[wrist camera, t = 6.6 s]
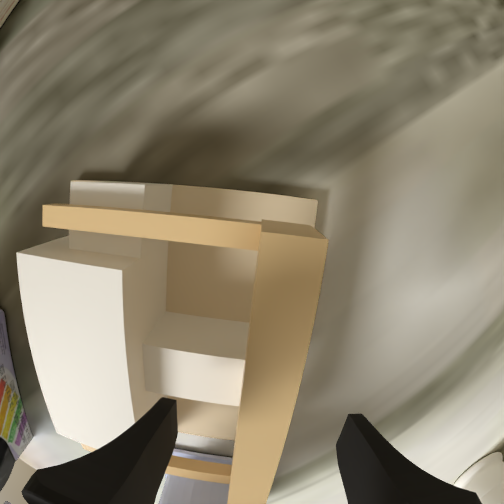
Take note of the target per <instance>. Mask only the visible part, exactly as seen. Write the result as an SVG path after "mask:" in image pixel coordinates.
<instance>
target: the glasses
mask: <svg viewBox="0 0 504 504" xmlns="http://www.w3.org/2000/svg"><path fill="white" fill-rule="evenodd" d="M43 227H52V228H61V229H70V230H79V231H88V232H96V233H105V234H114V235H123V236H132V237H141V238H149V239H158V240H167V241H176V242H185V243H193V244H202V245H211V246H220V247H228V248H237V249H246V250H254V251H258V254H257V263H256V271H255V280H254V288H253V297H252V305H251V313H250V322H249V330H248V338H247V346H246V354H245V363H244V371H243V379H242V387H241V395H240V403H239V411H238V419H237V427H236V435H235V443H234V450H233V458H232V465H229V464H221V463H214V462H207V461H201V460H195V459H189V458H184V457H179V456H174V455H172V456H171V459H170V461H169V464H168V466H167V469H166V471H165V473H166V474H170V475H175V476H180V477H185V478H190V479H196V480H202V481H209V482H216V483H223V484H229V491H228V500H227V504H266V501H267V498H268V496H269V492H270V489H271V486H272V483H273V480H274V477H275V474H276V471H277V467H278V464H279V461H280V458H281V454H282V451H283V447H284V444H285V440H286V437H287V433H288V430H289V426H290V422H291V419H292V415H293V411H294V407H295V403H296V400H297V396H298V392H299V388H300V383H301V379H302V375H303V371H304V367H305V362H306V358H307V353H308V349H309V344H310V340H311V335H312V330H313V325H314V320H315V315H316V310H317V305H318V300H319V294H320V289H321V284H322V278H323V272H324V266H325V260H326V254H327V248H328V241H329V240H328V239H327V238H326V237H325V236H323V235H322V234H321V233H320V232H318V231H317V230H316V229H315V228H313V227H312V226H311V225H305V224H297V223H289V222H281V221H273V220H264V219H262V220H261V222H260V221H251V220H242V219H233V218H224V217H215V216H205V215H195V214H185V213H174V212H163V211H152V210H141V209H129V208H116V207H103V206H89V205H74V204H59V203H53V204H46V205H43ZM81 444H82V443H81ZM82 447H83V449H86V450H88V451H91V452H93V451H95V450H97V449H95V448H92V447H90V446H87V445H84V444H82Z"/></svg>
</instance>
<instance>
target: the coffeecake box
mask: <svg viewBox="0 0 504 504" xmlns="http://www.w3.org/2000/svg"><path fill="white" fill-rule="evenodd" d="M18 1H19V0H0V28H1V26H2V25H3V23H4V22H5V20H6V19H7V17H8V16H9V14H10V13H11V11H12V10H13V8H14V7H15V6H16V4H17V3H18Z"/></svg>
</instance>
